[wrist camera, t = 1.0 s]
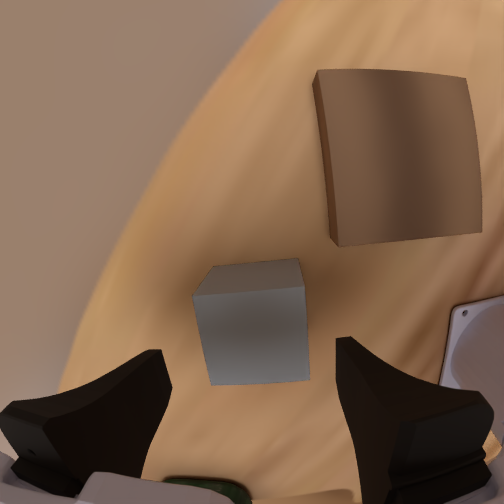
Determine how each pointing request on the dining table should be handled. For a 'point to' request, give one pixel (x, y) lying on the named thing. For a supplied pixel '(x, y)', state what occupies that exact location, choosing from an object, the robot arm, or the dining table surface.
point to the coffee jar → (217, 489)
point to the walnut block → (397, 155)
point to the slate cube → (254, 323)
